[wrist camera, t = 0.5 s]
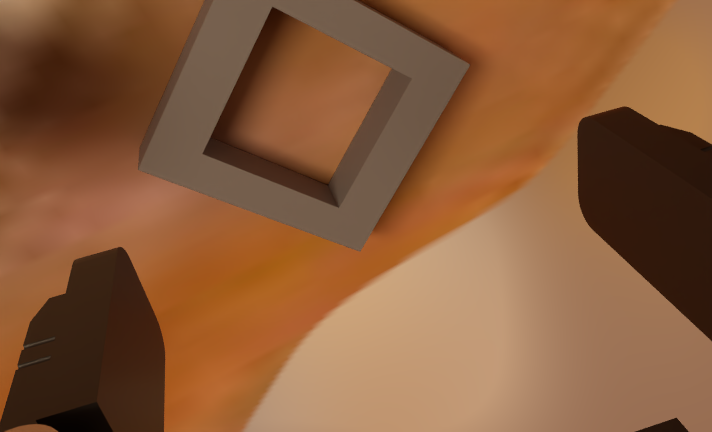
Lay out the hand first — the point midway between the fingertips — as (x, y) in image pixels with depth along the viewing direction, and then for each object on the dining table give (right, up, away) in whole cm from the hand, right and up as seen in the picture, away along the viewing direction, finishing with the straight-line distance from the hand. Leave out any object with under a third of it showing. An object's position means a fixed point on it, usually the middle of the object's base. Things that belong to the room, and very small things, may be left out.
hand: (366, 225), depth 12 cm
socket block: (-3, +7, +25) cm, 26 cm away
